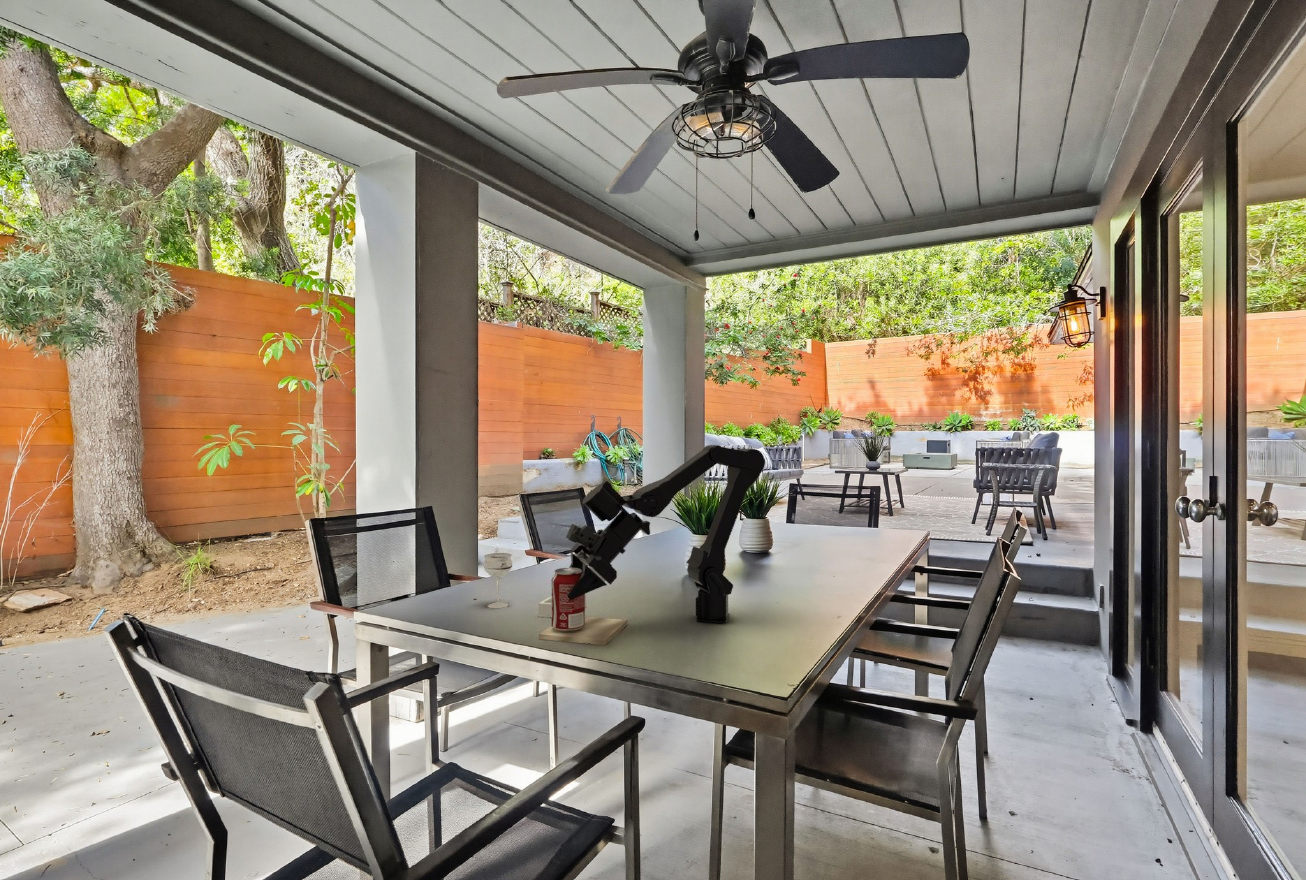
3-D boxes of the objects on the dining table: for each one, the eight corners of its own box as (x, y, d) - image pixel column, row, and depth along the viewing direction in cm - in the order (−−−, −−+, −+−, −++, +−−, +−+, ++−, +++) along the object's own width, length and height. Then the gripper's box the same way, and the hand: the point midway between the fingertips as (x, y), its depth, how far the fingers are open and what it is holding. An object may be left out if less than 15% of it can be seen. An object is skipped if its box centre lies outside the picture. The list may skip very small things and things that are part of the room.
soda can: (589, 630, 128) (589, 571, 128) (557, 635, 125) (557, 575, 125) (577, 622, 134) (577, 565, 134) (547, 626, 131) (547, 568, 131)
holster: (586, 606, 150) (586, 594, 150) (568, 618, 140) (568, 605, 140) (557, 604, 152) (557, 592, 152) (538, 616, 142) (538, 603, 142)
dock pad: (627, 624, 136) (627, 619, 136) (605, 645, 122) (605, 639, 122) (567, 619, 139) (567, 615, 139) (539, 639, 126) (539, 634, 126)
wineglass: (481, 603, 153) (481, 554, 153) (509, 600, 156) (509, 552, 156) (486, 610, 147) (486, 559, 147) (515, 607, 150) (515, 556, 150)
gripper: (580, 505, 140) (530, 559, 136) (600, 515, 122) (543, 576, 118) (615, 539, 142) (566, 592, 139) (639, 553, 124) (585, 614, 121)
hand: (564, 593), depth 129 cm, fingers open, 9 cm apart
